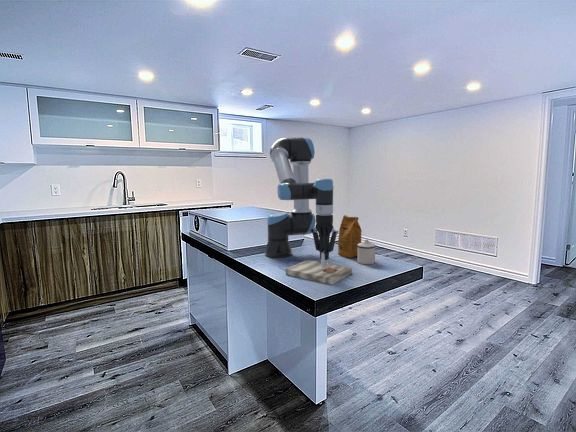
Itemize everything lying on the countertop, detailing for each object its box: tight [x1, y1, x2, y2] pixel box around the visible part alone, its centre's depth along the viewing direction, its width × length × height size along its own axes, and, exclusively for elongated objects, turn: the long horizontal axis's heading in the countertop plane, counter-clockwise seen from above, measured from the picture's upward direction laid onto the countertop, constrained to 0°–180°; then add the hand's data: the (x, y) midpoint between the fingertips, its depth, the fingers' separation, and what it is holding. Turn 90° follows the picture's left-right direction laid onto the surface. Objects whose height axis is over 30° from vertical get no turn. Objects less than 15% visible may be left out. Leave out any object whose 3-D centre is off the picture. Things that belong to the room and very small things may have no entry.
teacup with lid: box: [356, 239, 377, 265], centre depth 162 cm, size 12×9×12 cm
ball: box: [326, 267, 335, 273], centre depth 140 cm, size 4×4×4 cm
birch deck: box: [285, 259, 353, 285], centre depth 144 cm, size 24×18×2 cm
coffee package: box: [337, 214, 362, 259], centre depth 174 cm, size 10×12×22 cm
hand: (324, 266), depth 142 cm, fingers closed
